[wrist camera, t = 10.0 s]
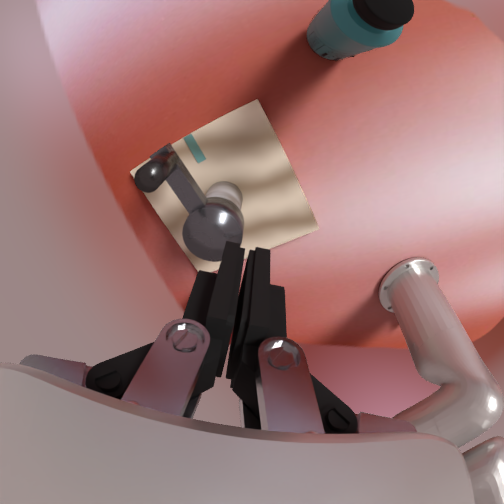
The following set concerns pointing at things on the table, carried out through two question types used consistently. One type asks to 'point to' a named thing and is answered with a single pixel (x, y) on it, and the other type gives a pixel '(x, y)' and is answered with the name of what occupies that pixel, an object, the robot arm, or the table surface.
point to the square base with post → (239, 181)
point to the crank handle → (193, 205)
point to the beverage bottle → (357, 26)
